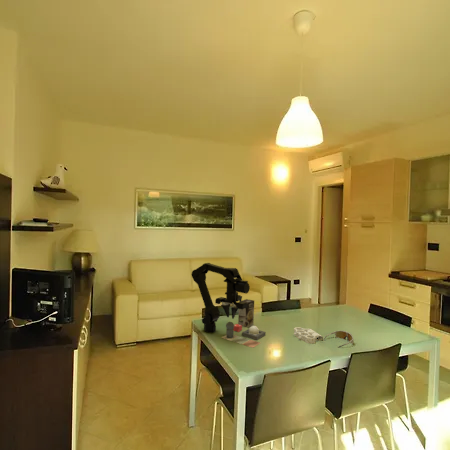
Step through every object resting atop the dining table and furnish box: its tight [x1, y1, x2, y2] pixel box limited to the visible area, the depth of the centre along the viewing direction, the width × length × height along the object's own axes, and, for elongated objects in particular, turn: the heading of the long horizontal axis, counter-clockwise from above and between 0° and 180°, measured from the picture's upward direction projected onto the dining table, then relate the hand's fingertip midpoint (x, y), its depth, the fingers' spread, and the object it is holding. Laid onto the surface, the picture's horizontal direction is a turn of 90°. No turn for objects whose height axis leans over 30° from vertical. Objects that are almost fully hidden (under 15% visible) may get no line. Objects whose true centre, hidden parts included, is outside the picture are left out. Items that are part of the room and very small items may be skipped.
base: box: [241, 328, 266, 341], centre depth 179 cm, size 10×10×3 cm
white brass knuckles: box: [293, 326, 324, 345], centre depth 182 cm, size 3×18×15 cm
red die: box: [233, 323, 243, 333], centre depth 187 cm, size 4×4×4 cm
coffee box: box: [237, 298, 255, 329], centre depth 198 cm, size 9×6×16 cm
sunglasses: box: [322, 330, 355, 349], centre depth 176 cm, size 14×15×5 cm
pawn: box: [225, 321, 235, 338], centre depth 175 cm, size 5×5×9 cm
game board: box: [220, 334, 261, 348], centre depth 171 cm, size 22×10×1 cm, turn 54°
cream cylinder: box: [248, 325, 260, 335], centre depth 179 cm, size 6×6×6 cm
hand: (230, 317), depth 175 cm, fingers open, 3 cm apart
